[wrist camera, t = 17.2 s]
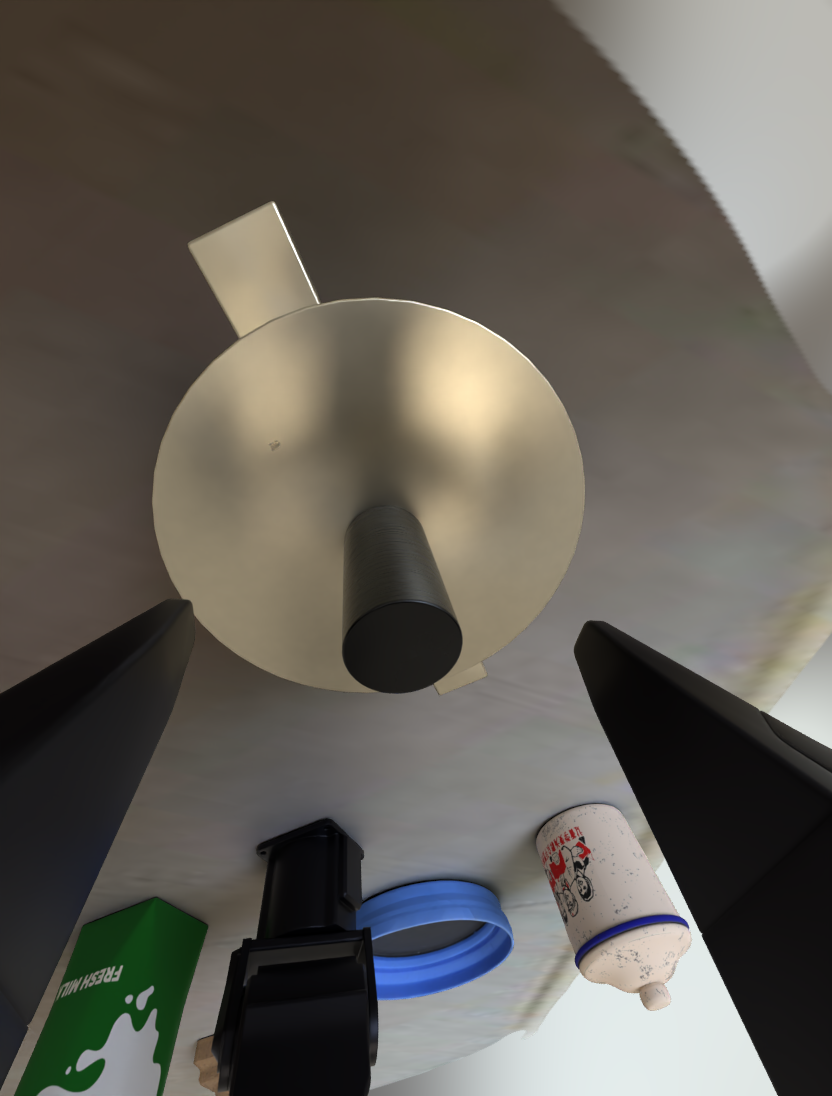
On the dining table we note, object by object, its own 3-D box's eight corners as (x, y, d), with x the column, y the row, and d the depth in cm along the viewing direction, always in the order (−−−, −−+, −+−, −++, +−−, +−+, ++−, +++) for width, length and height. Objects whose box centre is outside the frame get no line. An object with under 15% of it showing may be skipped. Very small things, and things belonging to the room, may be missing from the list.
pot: (341, 645, 24) (339, 751, 18) (124, 330, 15) (-17, 332, 9) (537, 563, 23) (602, 644, 17) (425, 183, 15) (478, 84, 9)
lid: (305, 715, 18) (287, 882, 12) (57, 426, 11) (-209, 516, 6) (597, 595, 17) (712, 718, 12) (515, 206, 10) (691, 80, 5)
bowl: (467, 852, 38) (478, 898, 35) (523, 916, 47) (535, 958, 43) (297, 920, 39) (292, 971, 36) (381, 971, 48) (384, 1015, 45)
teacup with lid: (554, 799, 36) (636, 987, 26) (640, 799, 38) (747, 972, 28) (508, 872, 41) (560, 1052, 31) (586, 868, 43) (659, 1035, 33)
